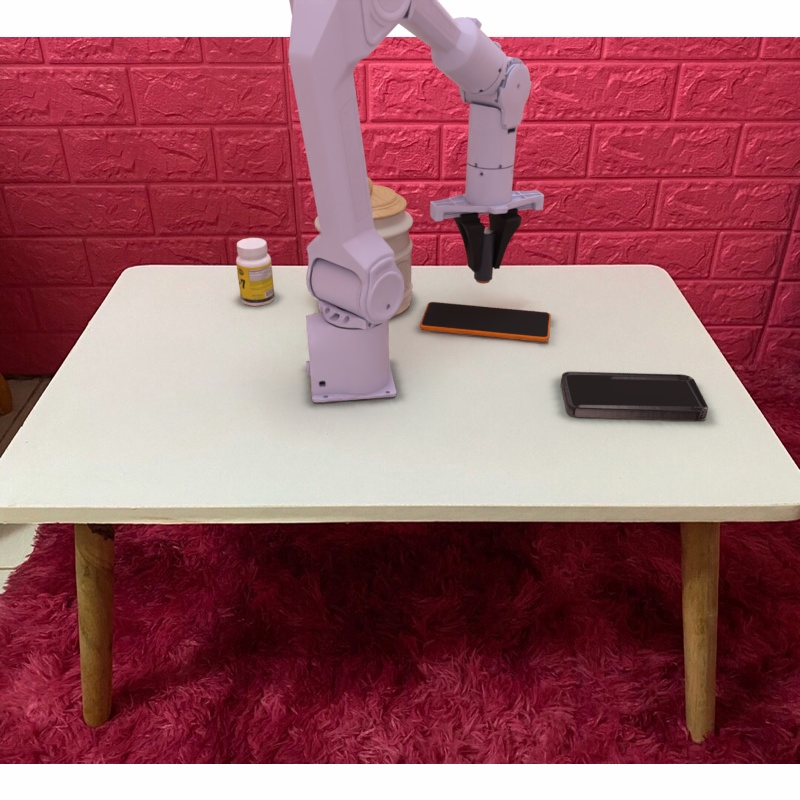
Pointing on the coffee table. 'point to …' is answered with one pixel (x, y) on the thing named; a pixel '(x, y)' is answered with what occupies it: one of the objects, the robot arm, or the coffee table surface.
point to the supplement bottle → (254, 272)
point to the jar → (392, 231)
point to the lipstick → (486, 257)
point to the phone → (633, 396)
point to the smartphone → (486, 321)
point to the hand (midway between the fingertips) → (483, 267)
